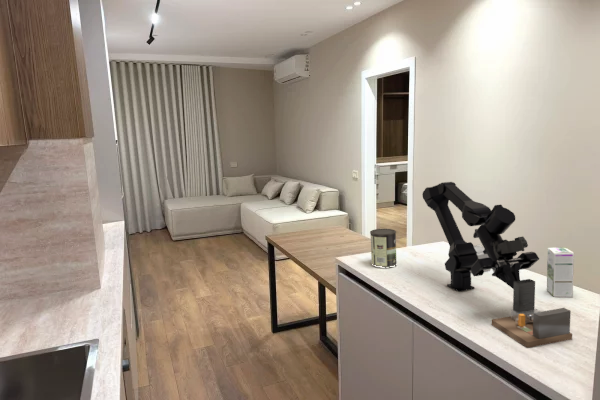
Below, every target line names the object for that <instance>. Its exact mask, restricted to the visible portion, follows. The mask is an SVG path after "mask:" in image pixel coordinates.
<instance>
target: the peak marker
mask: <svg viewBox="0 0 600 400" xmlns="http://www.w3.org/2000/svg"><path fill="white" fill-rule="evenodd" d="M518 325H519V326H521V327H522V326H525V315H524V314H519V316H518Z"/></svg>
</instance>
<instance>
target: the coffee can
mask: <svg viewBox="0 0 600 400" xmlns="http://www.w3.org/2000/svg"><path fill="white" fill-rule="evenodd" d="M369 234H370V251H371V253H370V254H371V256H370V257H371V265H372V264H373V265H376V266H382V267H390V266H394V265H396V264H397V263H398V261H397V239H396V238H397V235H396V234H397V231H396V230H395V229H392V228H376V229H375V228H374V229H372V230H370V232H369ZM396 266H397V265H396Z"/></svg>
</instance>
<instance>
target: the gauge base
mask: <svg viewBox="0 0 600 400" xmlns="http://www.w3.org/2000/svg"><path fill="white" fill-rule="evenodd" d="M571 313H572V312H571V310H569V309H567V308H565V307H560V308H555V309H549V310H543V311H540V312H536V313H533V322H532V323H526V324H525V326H522V327H521V326H519V325H518V324H517V323H516V322H515V320H514V319H512V318H511V315H509V316H505V317H498V318H493V319H491V325H492V326H493V327H494V328H496V329H498V330H499V331H501V332H502V333H503V334H505V335H507V336H508V337H510V338H511V339H513V340H514V341H516V342H518V343H519V344H520V345H522V346H524V347H525V348H526V349H529V348H533V347H534V348H535V347H538V346H540V347H541V346H544V345H549V344H555V343H560V342H566V341H570V340H573V333H572V332H570V331H571Z"/></svg>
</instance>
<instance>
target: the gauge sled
mask: <svg viewBox="0 0 600 400" xmlns="http://www.w3.org/2000/svg"><path fill="white" fill-rule="evenodd" d="M512 289H513V288H512ZM512 291H513V295H512V296H513V297H512V299H513V302H512V309H511V313H510V316H511V318H512V319H514V320H515V322H516V323H517V324H518V316H519V314H524V315H525V324H526V323H532V322H533V313H536V312H541V311H540V310H538V309H536V308H535V305H536V304H535V302H536V301H535V300H536V281H535V280H534V279H533V280H532V279H531V278H527V279H522V280H521V279H520V281H514V289H513V290H512Z"/></svg>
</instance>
